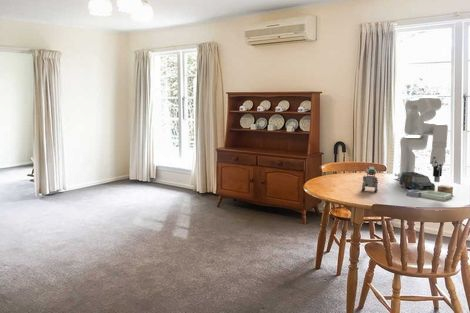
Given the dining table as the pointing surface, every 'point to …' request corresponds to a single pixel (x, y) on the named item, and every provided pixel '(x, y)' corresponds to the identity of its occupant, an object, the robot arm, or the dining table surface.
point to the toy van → (416, 181)
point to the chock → (445, 189)
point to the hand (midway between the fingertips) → (437, 176)
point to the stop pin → (437, 179)
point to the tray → (435, 195)
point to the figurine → (370, 179)
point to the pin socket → (413, 193)
